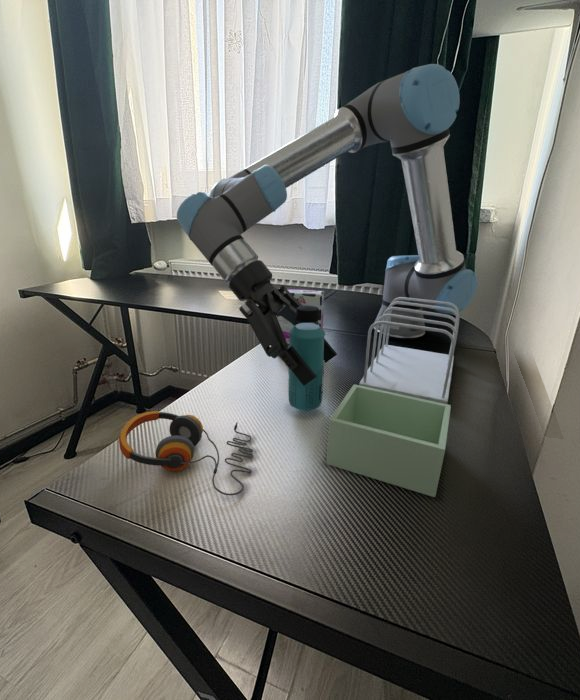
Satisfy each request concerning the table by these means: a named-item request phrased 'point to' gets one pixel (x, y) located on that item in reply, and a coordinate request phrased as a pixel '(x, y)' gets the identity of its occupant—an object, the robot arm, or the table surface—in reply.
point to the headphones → (178, 444)
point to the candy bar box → (305, 299)
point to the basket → (390, 438)
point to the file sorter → (411, 357)
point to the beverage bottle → (307, 358)
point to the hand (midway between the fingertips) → (321, 369)
